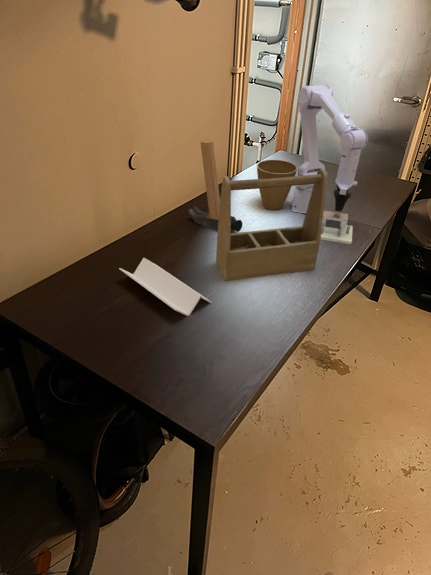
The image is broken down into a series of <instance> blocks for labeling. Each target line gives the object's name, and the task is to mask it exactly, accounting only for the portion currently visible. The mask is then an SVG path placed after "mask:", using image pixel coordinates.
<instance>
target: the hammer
mask: <svg viewBox="0 0 431 575" xmlns="http://www.w3.org/2000/svg"><path fill="white" fill-rule="evenodd" d="M199 144H200V150H201V156H202V165H203V174H204V182H205V189H206V190H205V191H206V195H207V196H206V197H207V204H208V205H207V206H208V212H206V211H203V210H201V209H200V208H199V206H198V205H196V206H193V208H190V209H188V210H187V212H188V214H189V215H190V217H191V219H192V220H193V221H194V222H195V223H196V224H198V225H201V226H204V227H205V228H209V229H211V230H213V231H217V232H218V221H219V212H220V201H221V197H220V191H219V190H220V189H219V179H218V172H217V163H216V156H215V145H214V140H213V139H203V140H200V143H199ZM242 229H243V220H242V219H237V218H236V217H235V216H234V215H233V216H232V215H231V231H234V232H235V233H240V231H241V230H242Z"/></svg>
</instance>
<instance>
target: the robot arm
mask: <svg viewBox="0 0 431 575" xmlns="http://www.w3.org/2000/svg"><path fill="white" fill-rule="evenodd" d="M333 93H334V92H333V89H332V88H331V86H330V85H329V84H320V85H319V84H318V85H304V86H302V87H301V88H300V90H299V93H298V94H297V98H298V100H297V101H298V112H299V114H300V125H301V138H302V151H303V152H302V155H303V163H302V164H301V165H300V166H299V167H298V168H297V176H306V175H317V172H318V170H319V169H324V170H325V171H326V167H325V165H324V163H322V162H321V161H320V159H319V158H320V157H319V156H320V155H319V146H318V145H319V144H318V141H319V140H318V130H317V128H318V127H317V126H318V125H317V115H318V113H319V112H320V111H322V110H323V111H324V112H325V113H326V114H327V116H329V117H330V118H331V120H332V121H331V126H332V128H333V130H334V131H335V132H336V134H337V135H338V136H339V137H340V142H339V143H340V153H341V154H340V155H341V156H340V161H339V165H338V169H337V175H336V178H335V180H334V182H335V184H336V189H334V190H333V196H334V202H335V203H334V210H335V211H336V212H339V213H342V211H343V210H344V207H345V205H346V204H347V202H348V200H349V199H350V197H351V196H352V192H348V191H349V190H350V188H352V187H353V186H357V185H358V181H356V180H355V179H356V178H355V177H356V173H357V169H358V166H359V161H360V157H361V153H362V149H364V148H365V147H366V146H367V144H368V142H369V136H368V133H367V131H366V130H365V129H364V128H360V127H358V126H357V124H356V123H355V122H354V120H353V119H352V118H351V115H350V114H349V113H347V112H342V111H341V108H340V107H339V106H338V104H337V102H336V101H335V98H334V97H333V96H334V94H333ZM313 186H314V184H308V185H296V186H294V187H295V188H294V193H293V198H292V202H291V210H290V211H291V212H292V213H300V214H305V215H306V212H307V208H308V204H309V201H310V198H311V194H312V190H313ZM335 211H334V212H335Z"/></svg>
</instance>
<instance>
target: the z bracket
mask: <svg viewBox="0 0 431 575" xmlns="http://www.w3.org/2000/svg"><path fill="white" fill-rule="evenodd" d="M118 269H119V270H120V271H121V272H123V273H124V274H125V275H126V276H128V277H129V278H130V279H132V280H133V281H135V282H136V283H138V284H139V285H140V286H141V287H143V288H144V289H146V290H147V291H148V292H150V293H151V294H152V295H154V296H155V297H156V298H158V299H159V300H160V301H162V302H163V303H165V304H166V306H168V307H170V308H171V309H173V310H174V311H176V312H178V313H180V314H182V315H184V316H187V317H188V316H191V314H192V312H193V311H194V309H195V307H196V306H197V304H198V303H199V301H200V300H201V299H203V300H204V301H207V302H208V303H209V304H212V303H213V301H211V300H209V299H208V298H207V297H205V296H203V294H201V293H200V292H198V291H196V290H194V289H193V288H191V287H190V286H189V285H188V284H186V283H184V282H183V281H181V280H179V279H178V277H177V278H176V276H173V275H172V273H169V272H168V271H167V270H165V269H164V268H162V267H160V266H159V265H157V264H156V263H154V262H152V261H151V260H149V259H147V258H145V257H143V258H142V260H141V261H140V263H139V264H138V266H137V267H136V269H135V271H134V272H133V273H131V272H129V271H127V270H125V269H124V268H121V267H119V268H118Z"/></svg>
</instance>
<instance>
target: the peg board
mask: <svg viewBox="0 0 431 575" xmlns="http://www.w3.org/2000/svg"><path fill="white" fill-rule="evenodd" d="M323 229H324V227H323V226H322V230H321V239H320V241H321V240H322V241H328V242H334V243H339V244H346V245H352V243H353V225H348V224H347V225H346V229H345V234H344V235H341V231H342V230H341V229H339V230H338V234H332V233H326V232H323Z"/></svg>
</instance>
